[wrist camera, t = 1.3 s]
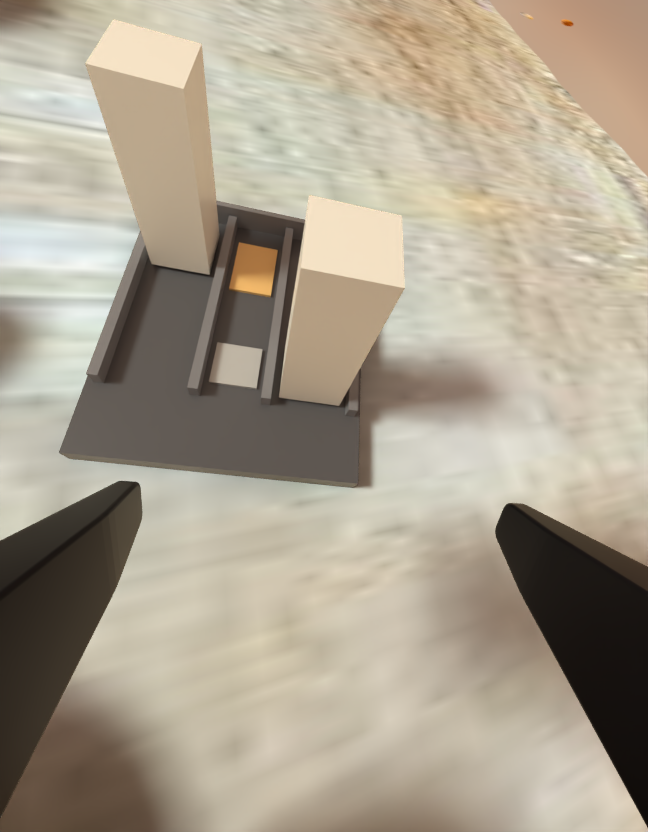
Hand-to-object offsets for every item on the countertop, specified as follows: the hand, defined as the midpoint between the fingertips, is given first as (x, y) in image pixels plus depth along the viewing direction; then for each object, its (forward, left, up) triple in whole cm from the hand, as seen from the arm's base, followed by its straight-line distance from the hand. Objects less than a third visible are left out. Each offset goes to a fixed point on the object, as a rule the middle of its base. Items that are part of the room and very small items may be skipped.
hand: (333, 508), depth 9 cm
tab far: (+22, -2, -12) cm, 25 cm away
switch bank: (+14, -3, -14) cm, 20 cm away
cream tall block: (+9, -6, -12) cm, 16 cm away
